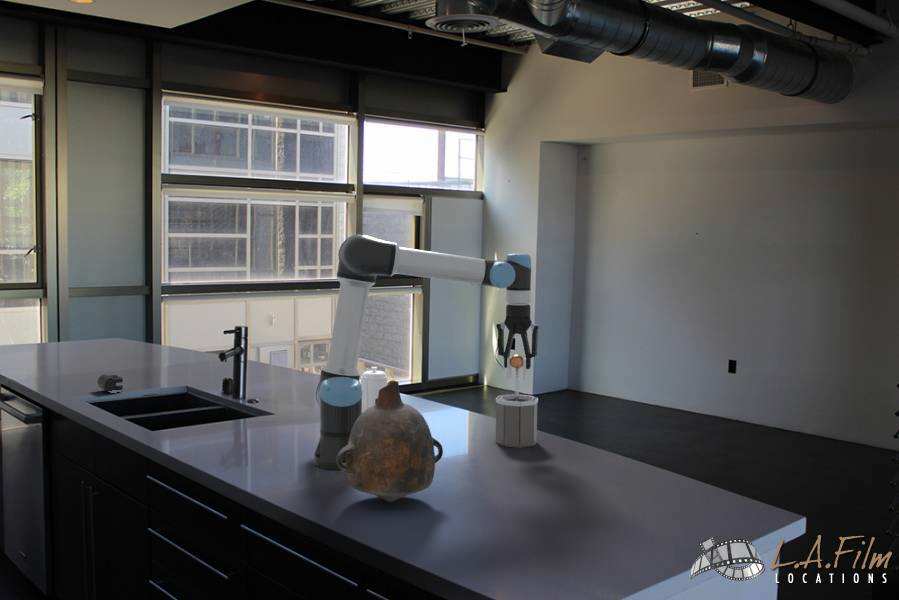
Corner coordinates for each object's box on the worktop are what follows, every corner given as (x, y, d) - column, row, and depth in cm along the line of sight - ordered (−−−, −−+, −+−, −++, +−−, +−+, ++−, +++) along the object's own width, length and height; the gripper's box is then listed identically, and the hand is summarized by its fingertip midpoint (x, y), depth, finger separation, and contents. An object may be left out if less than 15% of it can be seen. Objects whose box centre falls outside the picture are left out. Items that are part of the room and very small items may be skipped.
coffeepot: (347, 427, 276) (347, 372, 274) (369, 412, 300) (369, 361, 299) (378, 429, 274) (378, 373, 272) (398, 413, 298) (398, 362, 297)
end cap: (97, 391, 337) (97, 374, 336) (115, 389, 341) (115, 373, 341) (105, 395, 329) (104, 378, 328) (123, 393, 333) (122, 376, 333)
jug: (392, 481, 215) (392, 367, 213) (456, 498, 202) (457, 377, 199) (321, 504, 196) (321, 379, 194) (387, 524, 183) (387, 391, 181)
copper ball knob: (526, 425, 252) (527, 357, 250) (500, 423, 255) (500, 355, 253) (532, 419, 260) (533, 353, 258) (506, 417, 263) (507, 352, 261)
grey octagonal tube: (531, 448, 250) (532, 403, 249) (491, 445, 254) (492, 400, 253) (542, 436, 265) (543, 393, 264) (504, 433, 269) (505, 391, 268)
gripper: (548, 303, 255) (547, 378, 257) (494, 302, 261) (493, 375, 263) (543, 305, 248) (542, 382, 250) (487, 303, 254) (486, 378, 255)
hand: (517, 378), depth 256 cm, fingers closed on copper ball knob, 4 cm apart
